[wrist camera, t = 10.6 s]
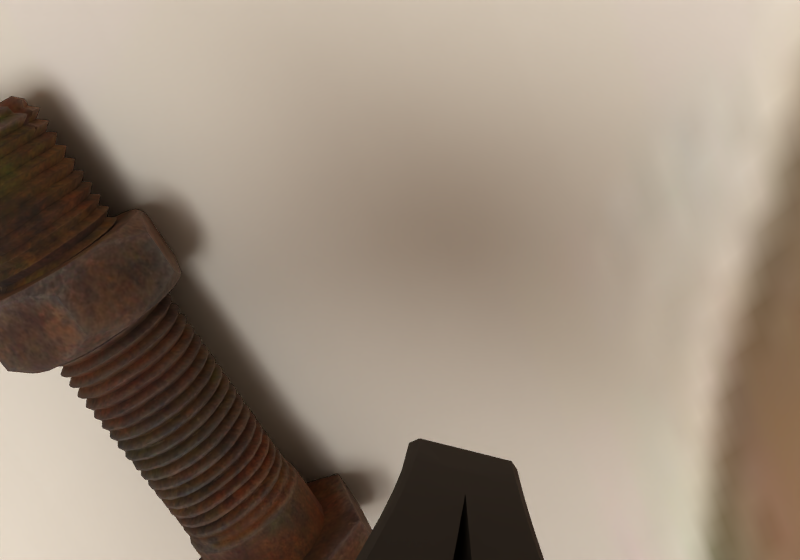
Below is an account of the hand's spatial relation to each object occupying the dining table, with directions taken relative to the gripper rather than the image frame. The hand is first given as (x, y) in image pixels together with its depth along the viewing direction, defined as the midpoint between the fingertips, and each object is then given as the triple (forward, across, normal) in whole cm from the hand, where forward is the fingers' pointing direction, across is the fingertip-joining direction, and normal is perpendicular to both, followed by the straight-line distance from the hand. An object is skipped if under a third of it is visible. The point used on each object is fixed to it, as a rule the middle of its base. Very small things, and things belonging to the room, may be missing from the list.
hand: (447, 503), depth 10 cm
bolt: (+10, +7, +6) cm, 13 cm away
